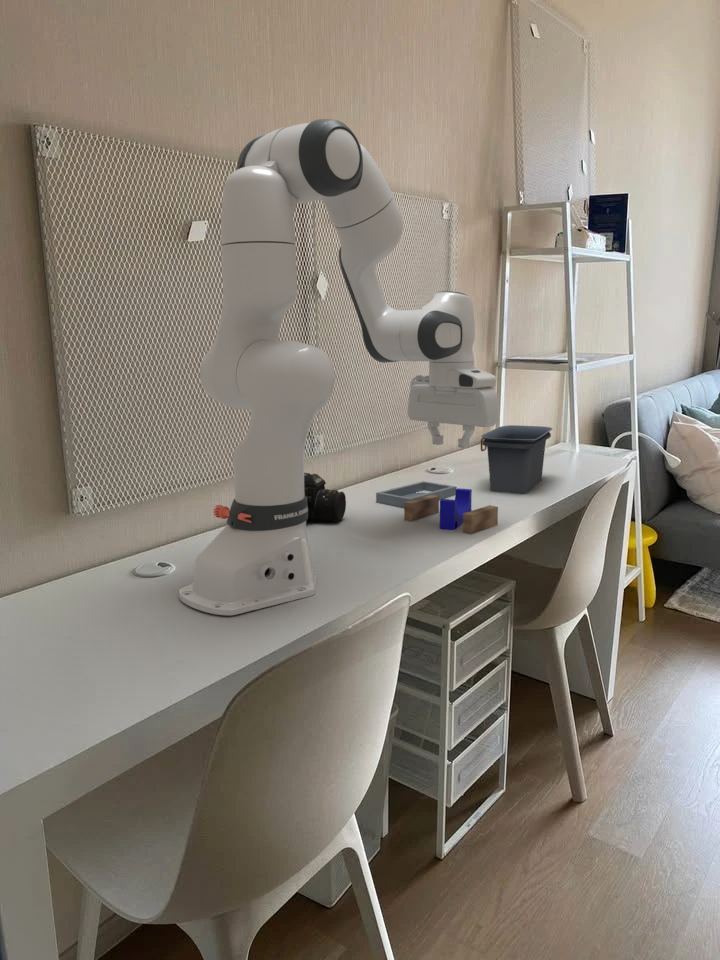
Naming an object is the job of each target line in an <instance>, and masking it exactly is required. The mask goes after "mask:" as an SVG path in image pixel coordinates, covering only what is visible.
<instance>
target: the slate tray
mask: <svg viewBox="0 0 720 960" xmlns="http://www.w3.org/2000/svg"><path fill="white" fill-rule="evenodd" d="M456 489H458V487H457V486H456V485H450V484H449V485H448V484H444V483H442V484H441V483H437V482H436V483H435V482H431V481H424V480H422V481H418V482H415V483H414V482H413V483H411V484H406V485H402V486H399V487H394V488H389V489H386V490H382V491H378V492H375V503H376V504H377V503H378V504H380V505H381V504H382V505H386V506H390V507H396V508H401V509H404V502H407V501H410V500H414V499H418V498H422V497H425V496H429V495H435V496H439V501H440V500H441V499H449V498H451V496H452V497H455V496H454V495H456ZM423 491H426V492H423ZM416 492H418V493H416ZM419 492H420V493H419Z"/></svg>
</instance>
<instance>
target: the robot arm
mask: <svg viewBox="0 0 720 960" xmlns="http://www.w3.org/2000/svg"><path fill="white" fill-rule="evenodd" d="M237 160H238V161H237V165H236V170H235V171H233V172H231V173H230V175H228V177H227V179H226V180H225V182H224V187H223V193H222V201H221V202H222V203H221V212H220V213H221V214H220V240H221V241H220V246H221V247H220V249H221V263H222V264H221V265H222V266H221V268H222V269H221V270H222V291H223V292H222V294H223V295H222V306H221V307H222V308H221V314H220V318H219V324H218V328H217V332H216V335H215V339H214V342H213V344H212V346H211V347H210V348H209V350H208V351H207V353H205V355H204V357H202V358H203V359H202V361H201V362H200V367H199V378H200V383H201V385H202V389H203V390H204V392H205V393H206V395H208V397H210V398H211V399H212V400H214V401H216V402H218V403H220V404H222V405H224V406H227V407H229V408H232V409H235V410H245V411H250V419H249V423H248V429H247V432H246V434H245V436H244V439H243V440H242V441H240V443H239V444H237V445H236V447H235V448H234V451H233V453H232V463H233V465H232V466H233V484H234V499H232V503H231V506H230V508H229V507H228V506H223V505H221V504H218V505H215V506H214V509H213V511H212V512H213V516H215V518H219V519H222V520H226V524H227V525H226V526H224V528H223V529H222V530H221V531H220V532H219V533H218V534H217V535H216V536H215V537H214V538H213V540H211V542H209V544H207V546H206V547H205V548H204V549H203V550H202V551H201V552H200V553H199V554H198V555H197V556H196V558H195V560H194V564H193V565H194V566H193V572H192V573H193V575H192V583H190V584H188V585H186V586H183V587H181V588H179V589H178V599H179V600H180V601H181V602H182V603H184V604H185V605H187V606H188V607H191V608H193V609H195V610H198V611H201V612H203V613H207V614H208V613H209V614H212V615H219V616H237V615H239V614H244V613H248V612H252V611H256V610H260V609H263V608H264V609H265V608H267V607H272V606H275V605H276V606H277V605H279V604H285V603H288V602H292V601H296V600H299V599H303V598H308V597H311V596H314V595H315V594H316V584H317V582H318V577H317V573H316V572H315V569H314V565H313V560H312V556H311V551H310V544H309V537H308V530H307V524H306V520H307V519H308V505H307V497H306V496H305V495H304V473H305V450H306V443H307V438H308V435H309V431H310V428H311V426H312V424H313V421H314V419H315V417H316V415H317V414H318V412H319V411H320V410H321V409H322V408H323V407H324V406H325V405H327V403H328V402H329V400H330V399H331V398H332V394H333V392H334V390H335V389H334V388H335V384H336V383H335V382H336V374H335V368H334V365H333V363H332V360H331V358H330V356H329V355H328V354H327V353H326V352H325V351H324V350H323V349H321V348H319V347H317V346H313V345H311V344H309V343H305V342H302V341H297V340H286V339H285V340H284V339H283V340H279V334H280V329H281V325H282V322H283V320H284V317H285V315H286V314H287V312H289V310H290V309H291V308H292V307H293V306H294V305H295V303H296V300H297V297H298V273H297V272H298V271H297V247H296V246H297V245H296V232H295V221H294V214H295V210H296V208H297V204H308V203H311V202H316V201H318V200H319V201H321V202H322V203H323V204H324V206H325V209H326V211H327V213H328V216H329V218H330V220H331V223H332V224H333V226H334V228H335V230H336V233H337V236H338V238H339V242H340V243H339V244H340V246H339V250H338V261H339V267H340V270H341V272H342V273H341V274H342V276H343V278H344V282H345V285H346V287H347V289H348V294H349V296H350V298H351V302H352V303H353V306H354V310H355V311H356V315H357V317H358V321H359V323H360V327H361V332H362V339H363V343H364V346H365V348H366V351H367V353H368V354H369V355H370V357H371V358H373V360H375V361H377V362H379V363H395V362H416V363H417V362H428V375H421V374H418V375H415V377H413V378H412V379H411V381H410V384H409V386H410V387H409V395H408V402H407V415H408V418H409V420H411V421H414V422H415V421H416V422H417V421H418V422H427V428H428V430H429V433H430V435H431V437H432V444H433V445H436V446H440V445H443V444H444V435H442V434H441V432H440V431H439V428H438V427H440V424H447V425H448V424H449V425H458V426H462V431H463V432H464V433H463V435H462V437H461V438H458V439H457V443H458V444H457V447H458V448H461V449H468V448H469V447H470V439H471V437H472V436H473V433H474V432H475V428H476V427H477V428H490V427H494V426H495V425H496V424H497V422H498V421H499V397H498V393H497V391H496V389H495V388H494V387H495V386H496V385H497V377H496V376H495V375H494V374H492V373H489V372H488V371H485V370H482V369H481V368H479V367H476V366H475V357H474V353H473V352H474V351H473V349H474V348H473V347H474V342H475V338H476V337H475V336H476V334H475V333H476V332H475V331H476V327H475V326H476V325H475V323H476V322H475V310H474V305H473V301H472V298H471V297H470V296H469V295H467V294H466V293H463V292H459V291H452V290H445V291H444V290H442V291H438V292H434V294H433V296H432V299H431V300H430V301H429V302H428V303H427V304H425V305H424V306H421V307H419V309H406V310H405V309H404V310H402V309H396V308H394V307H392V306H390V305H389V304H388V303H387V302H386V299H385V296H384V292H383V289H382V287H381V284H380V281H379V277H378V276H377V275H378V274H377V271H376V267H377V265H378V264H380V263H381V262H382V261H383V260H384V259H386V258H387V257H388V256H389V255H390V254H391V253H392V252H393V251H394V250H395V248H396V247H397V245H399V242H400V240H401V237H402V235H403V229H404V222H403V216H402V213H401V211H400V207H399V205H398V203H397V201H396V199H395V197H394V194H393V192H392V190H391V188H390V185H389V183H388V181H387V180H386V178H385V175H384V174H383V173H382V171H381V169H380V167H379V165H378V164H377V162H376V161H375V160H374V158H373V156H372V155H371V154H370V153H369V151H368V150H367V148H366V147H365V146H364V145H363V144H361V143H360V142H359V140H358V138H357V136H356V134H355V133H354V132H353V131H352V130H351V128H349V127H348V126H347V125H346V124H345V123H344V122H342V121H340V120H337V119H331V118H318V119H314V120H312V121H311V122H305V123H299V124H295V125H294V124H293V125H292V124H290V125H286V126H283V127H280V128H277V129H275V130H272V131H271V132H268V133H266V134H262V135H258V136H257V137H255V138H254V139H252V140H251V141H249V142H248V143H247V144H246V145H244V147H243V149H242V150H241V152H240V154H239V156H238V159H237Z"/></svg>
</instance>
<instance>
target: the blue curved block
mask: <svg viewBox="0 0 720 960" xmlns="http://www.w3.org/2000/svg"><path fill="white" fill-rule="evenodd" d="M472 489H473V488H472ZM472 489H470V488H458V487H457V489H456V495H455V496H454V499H451V498H450V499H449V498H445V499H441V500H439V530H445V531H446V530H447V531H456V530H457V529H458V528H459V527H460V526H462V525H463V513H466V512H470V511H472V494H473V493H472Z"/></svg>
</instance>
